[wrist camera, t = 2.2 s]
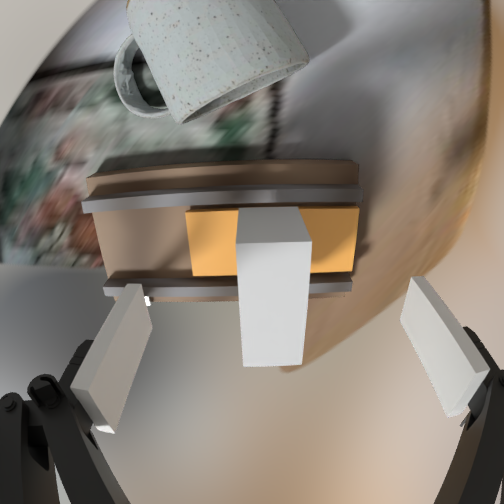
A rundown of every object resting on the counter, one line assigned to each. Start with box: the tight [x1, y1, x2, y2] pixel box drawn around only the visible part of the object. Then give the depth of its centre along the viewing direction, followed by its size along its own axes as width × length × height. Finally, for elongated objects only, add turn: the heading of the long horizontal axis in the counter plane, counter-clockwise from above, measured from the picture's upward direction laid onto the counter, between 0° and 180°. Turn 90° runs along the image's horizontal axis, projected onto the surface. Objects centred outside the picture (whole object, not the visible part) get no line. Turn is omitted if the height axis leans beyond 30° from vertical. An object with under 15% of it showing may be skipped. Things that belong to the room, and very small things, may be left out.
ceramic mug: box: [114, 0, 309, 124], centre depth 13 cm, size 11×8×8 cm
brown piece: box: [81, 159, 364, 302], centre depth 21 cm, size 18×10×3 cm, turn 92°
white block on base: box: [185, 206, 359, 367], centre depth 17 cm, size 11×7×8 cm, turn 92°
